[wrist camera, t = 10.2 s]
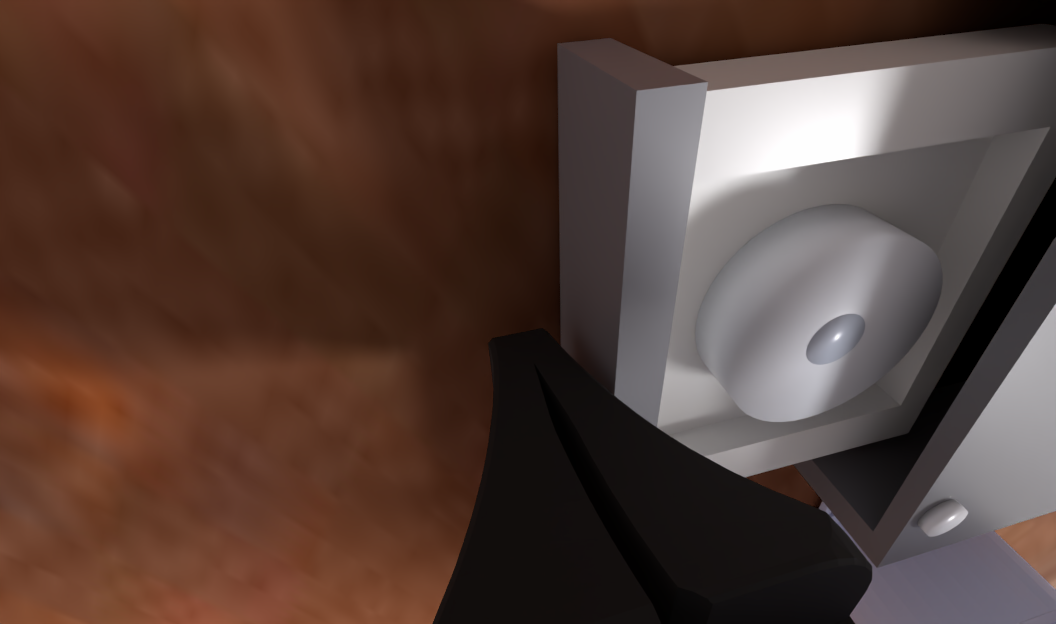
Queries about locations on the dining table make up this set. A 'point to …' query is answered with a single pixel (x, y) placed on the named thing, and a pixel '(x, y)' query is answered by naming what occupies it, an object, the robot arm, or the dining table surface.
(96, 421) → the dining table surface
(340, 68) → the dining table surface
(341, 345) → the dining table surface
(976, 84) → the tray
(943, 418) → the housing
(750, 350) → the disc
